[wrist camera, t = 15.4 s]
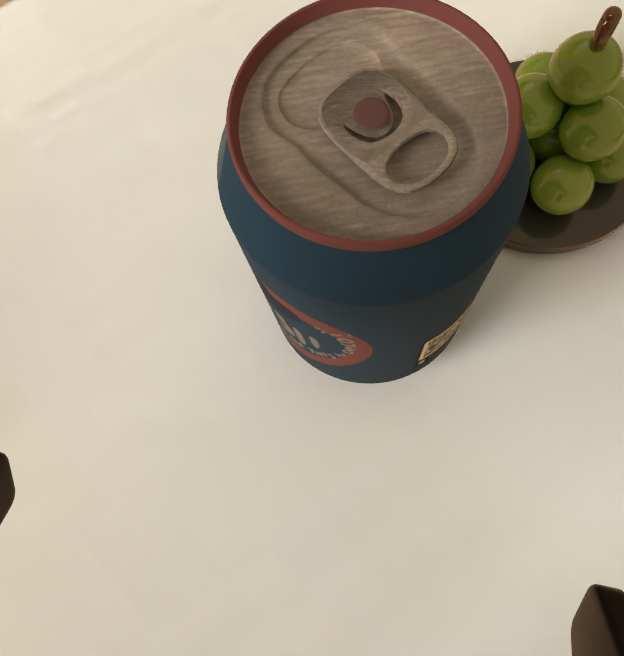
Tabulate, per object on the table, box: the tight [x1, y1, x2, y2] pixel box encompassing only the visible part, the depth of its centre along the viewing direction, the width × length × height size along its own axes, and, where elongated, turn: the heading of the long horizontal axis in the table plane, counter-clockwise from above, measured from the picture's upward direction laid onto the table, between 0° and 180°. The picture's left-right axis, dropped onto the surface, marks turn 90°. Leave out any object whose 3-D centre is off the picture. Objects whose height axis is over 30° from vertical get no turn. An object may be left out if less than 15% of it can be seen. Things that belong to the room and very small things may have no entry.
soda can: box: [217, 0, 531, 383], centre depth 17 cm, size 7×7×12 cm
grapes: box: [504, 6, 624, 254], centre depth 20 cm, size 8×8×8 cm
